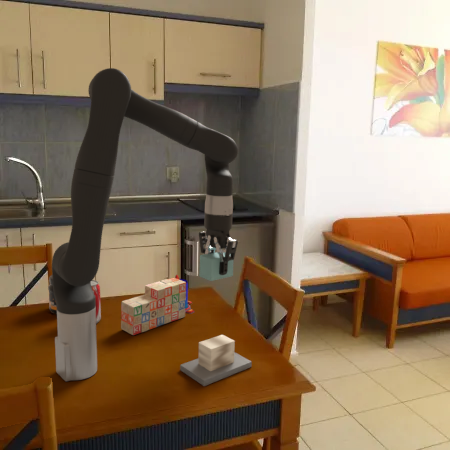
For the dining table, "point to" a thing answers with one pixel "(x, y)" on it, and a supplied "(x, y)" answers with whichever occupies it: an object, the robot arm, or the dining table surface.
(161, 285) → the stack of blocks
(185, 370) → the baseplate
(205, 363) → the cream brick
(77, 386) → the dining table surface
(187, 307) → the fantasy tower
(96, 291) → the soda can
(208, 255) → the teal brick
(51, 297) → the supplement container
